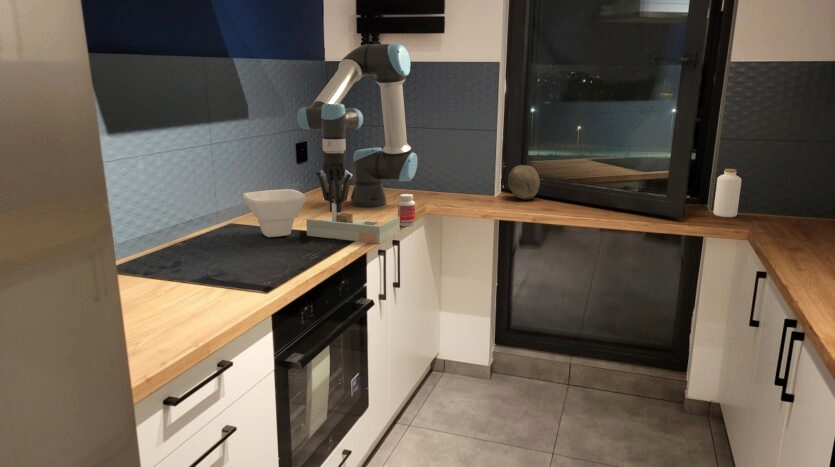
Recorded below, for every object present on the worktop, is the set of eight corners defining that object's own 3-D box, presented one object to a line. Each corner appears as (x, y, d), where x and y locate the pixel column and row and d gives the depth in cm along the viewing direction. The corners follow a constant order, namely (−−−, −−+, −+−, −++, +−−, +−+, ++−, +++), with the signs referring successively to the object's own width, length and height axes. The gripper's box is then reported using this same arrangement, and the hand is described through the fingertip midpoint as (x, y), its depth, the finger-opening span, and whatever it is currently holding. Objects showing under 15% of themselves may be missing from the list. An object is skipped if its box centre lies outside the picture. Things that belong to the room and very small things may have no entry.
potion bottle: (736, 214, 245) (742, 168, 241) (737, 218, 238) (743, 171, 234) (713, 212, 249) (718, 167, 244) (713, 216, 241) (718, 170, 237)
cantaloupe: (544, 198, 277) (545, 164, 273) (531, 203, 265) (533, 168, 262) (514, 195, 284) (515, 162, 281) (501, 200, 273) (502, 165, 269)
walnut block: (342, 224, 214) (342, 212, 213) (352, 225, 212) (352, 213, 212) (336, 226, 210) (336, 215, 209) (347, 227, 209) (346, 216, 208)
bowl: (255, 245, 198) (252, 202, 195) (242, 232, 215) (239, 192, 212) (312, 239, 207) (310, 197, 203) (295, 226, 223) (293, 188, 220)
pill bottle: (418, 225, 225) (418, 195, 223) (404, 227, 222) (403, 197, 219) (409, 222, 230) (409, 192, 228) (394, 224, 227) (394, 194, 224)
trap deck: (330, 225, 225) (330, 210, 224) (399, 232, 216) (399, 216, 214) (307, 235, 211) (306, 219, 210) (379, 243, 201) (379, 226, 200)
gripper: (311, 151, 204) (313, 222, 210) (346, 153, 200) (347, 225, 205) (322, 149, 211) (324, 217, 217) (357, 151, 206) (358, 221, 212)
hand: (336, 221), depth 211 cm, fingers closed
